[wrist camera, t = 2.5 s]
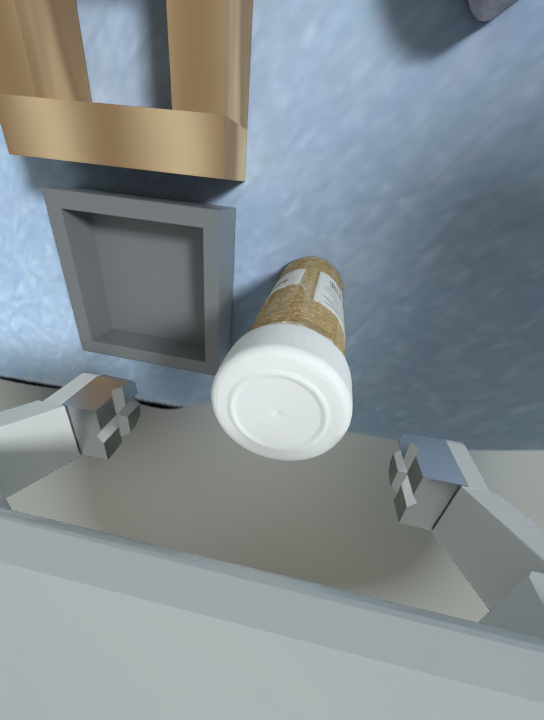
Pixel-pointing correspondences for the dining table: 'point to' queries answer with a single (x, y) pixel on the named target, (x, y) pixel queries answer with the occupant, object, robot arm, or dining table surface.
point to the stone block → (488, 8)
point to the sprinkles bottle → (289, 369)
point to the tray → (147, 275)
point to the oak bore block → (119, 122)
